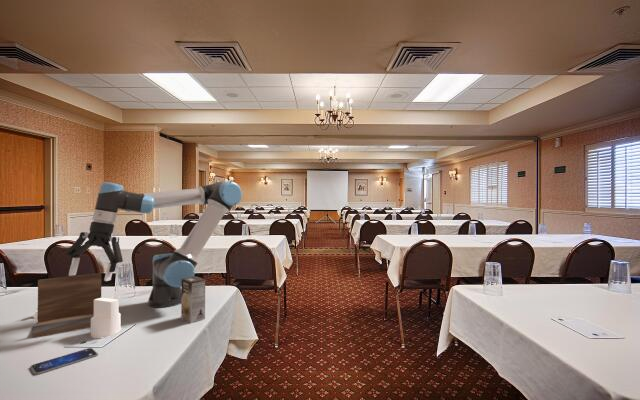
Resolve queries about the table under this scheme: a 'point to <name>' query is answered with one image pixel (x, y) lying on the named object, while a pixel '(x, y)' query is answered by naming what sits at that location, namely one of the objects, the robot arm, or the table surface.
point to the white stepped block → (105, 318)
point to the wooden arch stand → (66, 303)
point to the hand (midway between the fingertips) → (89, 278)
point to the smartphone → (62, 361)
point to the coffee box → (193, 299)
